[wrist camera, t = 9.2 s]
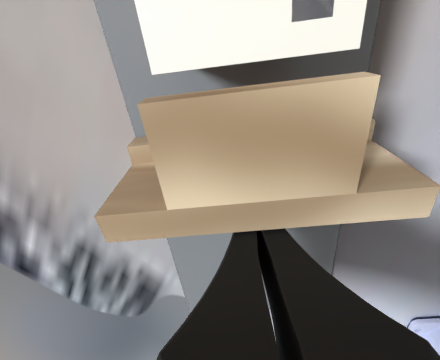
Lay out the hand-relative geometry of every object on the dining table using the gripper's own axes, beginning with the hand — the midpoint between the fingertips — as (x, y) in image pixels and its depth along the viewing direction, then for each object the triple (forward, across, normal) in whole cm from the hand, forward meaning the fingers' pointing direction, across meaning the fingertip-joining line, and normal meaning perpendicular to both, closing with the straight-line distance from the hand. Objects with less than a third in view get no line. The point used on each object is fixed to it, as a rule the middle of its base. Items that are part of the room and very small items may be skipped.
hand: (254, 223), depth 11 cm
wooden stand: (+3, 0, -3) cm, 4 cm away
